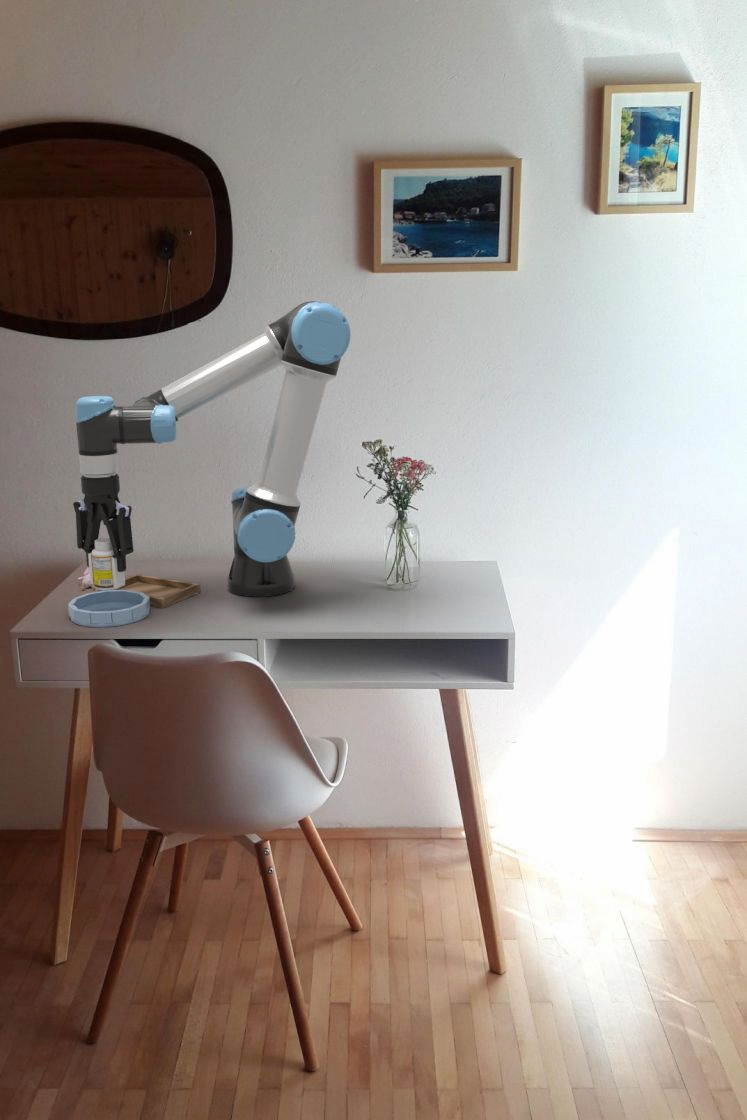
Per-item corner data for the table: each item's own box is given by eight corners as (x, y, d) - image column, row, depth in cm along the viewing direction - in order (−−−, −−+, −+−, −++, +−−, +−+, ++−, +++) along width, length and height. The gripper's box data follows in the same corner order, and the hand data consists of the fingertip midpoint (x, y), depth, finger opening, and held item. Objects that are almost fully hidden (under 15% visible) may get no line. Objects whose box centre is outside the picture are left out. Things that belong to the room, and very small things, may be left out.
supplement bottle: (113, 582, 225) (109, 535, 222) (126, 587, 221) (123, 540, 218) (89, 587, 221) (85, 540, 219) (102, 593, 217) (99, 544, 215)
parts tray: (200, 592, 238) (199, 583, 237) (162, 608, 227) (162, 599, 226) (137, 582, 246) (136, 573, 245) (98, 597, 235) (97, 588, 234)
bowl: (165, 609, 226) (164, 596, 225) (113, 631, 212) (112, 617, 211) (107, 599, 233) (106, 586, 232) (53, 620, 220) (52, 606, 219)
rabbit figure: (103, 596, 241) (114, 567, 254) (100, 572, 238) (111, 545, 252) (75, 596, 240) (87, 568, 254) (71, 572, 238) (84, 545, 252)
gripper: (148, 474, 214) (154, 585, 220) (78, 467, 222) (86, 574, 228) (122, 481, 207) (130, 595, 214) (51, 473, 216) (61, 583, 222)
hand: (107, 584), depth 221 cm, fingers closed on supplement bottle, 6 cm apart
